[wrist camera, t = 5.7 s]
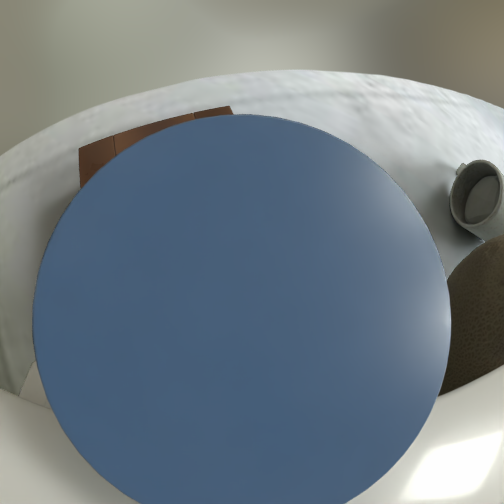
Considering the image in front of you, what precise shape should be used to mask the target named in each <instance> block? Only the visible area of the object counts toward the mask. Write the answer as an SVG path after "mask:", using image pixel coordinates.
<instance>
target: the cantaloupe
mask: <svg viewBox="0 0 504 504" xmlns="http://www.w3.org/2000/svg"><path fill="white" fill-rule="evenodd" d="M447 285H448V291H449V297H450V308H451V340H450V349H449V356H448V362H447V367H446V371H445V375H444V379H443V382H442V386H441V389H440V392H439V394H438V396H441V395H443V394H446V393H448V392H450V391H453V390H455V389H457V388H459V387H461V386H464V385H466V384H468V383H470V382H472V381H474V380H476V379H478V378H480V377H482V376H484V375H486V374H488V373H489V372H491V371H493V370H495V369H497V368H498V367H500V366H502V365H503V364H504V234H503V235H499V236H497V237H494V238H492V239H490V240H488V241H486V242H485V243H483V244H482V245H480V246H479V247H477V248H476V249H475V250H474V251H472V252H471V253H470V254H469V255H468V256H467V257H466V258H465V259H464V260H463V261H462V262H461V263H460V264H459V265H458V266H457V267H456V268H455V269H454V270H453V272H452V273H451V275H450V276H449V278H448V280H447Z"/></svg>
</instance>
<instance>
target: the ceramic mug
mask: <svg viewBox="0 0 504 504" xmlns="http://www.w3.org/2000/svg"><path fill="white" fill-rule="evenodd" d="M456 173H457V175H458V176H457V177H456V179H455V181H454V183H453V186H452V189H451V195H450V207H451V212H452V215H453V217H454V219H455V220H456V222H457V223H458V224H459V225H461V226H462V227H463V228H465V229H467V230H468V231H470V232H471V233H473V234H475V235H476V236H478V237H479V238H481V239H482V240H484V241H485V242H486V241H488V240H490V239H492V238H494V237H497V236H499V235H503V234H504V176H503V174H502V173H501V172H500V171H499V169H498V168H497V167H496V166H495V165H494V164H492V163H491V162H489V161H486V160H475V161H472V162H470V163H469V164H467V165H466V164H464V163H462V164H461V165H460V167H459V168H458V169H457V171H456Z"/></svg>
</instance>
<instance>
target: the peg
mask: <svg viewBox="0 0 504 504" xmlns="http://www.w3.org/2000/svg"><path fill="white" fill-rule="evenodd" d="M32 332H33V344H34V351H35V357H36V363H37V369H38V372H39V376H40V379H41V382H42V385H43V389H44V392H45V395H46V398H47V400H48V402H49V404H50V406H51V409H52V411H53V413H54V415H55V417H56V419H57V421H58V423H59V424H60V426H61V428H62V430H63V431H64V433H65V434H66V436H67V437H68V438H69V440H70V441H71V443H72V444H73V446H74V447H75V448H76V450H77V451H78V452H79V454H80V455H81V456H82V457H83V458H84V459H85V460H86V461H87V462H88V463H89V464H90V465H91V467H92V468H93V469H94V470H95V471H96V472H97V473H98V474H99V475H100V476H102V477H103V478H104V479H105V480H106V481H108V482H109V483H110V484H111V485H113V486H114V487H115V488H117V489H118V490H119V491H121V492H122V493H123V494H125V495H126V496H128V497H130V498H131V499H133V500H135V501H136V502H138V503H140V504H345V503H347V502H349V501H350V500H352V499H353V498H355V497H357V496H358V495H360V494H361V493H363V492H364V491H366V490H367V489H368V488H370V487H371V486H372V485H373V484H375V483H376V482H377V481H378V480H379V479H381V478H382V477H383V476H384V475H385V474H386V473H387V472H388V471H389V470H390V469H391V468H392V467H393V466H394V465H395V464H396V463H397V462H398V461H399V460H400V459H401V457H402V456H403V455H404V454H405V453H406V451H407V450H408V449H409V447H410V446H411V445H412V443H413V442H414V440H415V439H416V438H417V436H418V435H419V433H420V431H421V430H422V428H423V426H424V424H425V423H426V421H427V419H428V417H429V415H430V413H431V411H432V409H433V407H434V404H435V402H436V399H437V397H438V394H439V392H440V389H441V386H442V382H443V379H444V375H445V371H446V367H447V362H448V356H449V349H450V340H451V308H450V297H449V291H448V285H447V280H446V275H445V271H444V268H443V264H442V261H441V258H440V255H439V252H438V249H437V247H436V245H435V242H434V240H433V238H432V235H431V233H430V231H429V229H428V227H427V225H426V224H425V222H424V220H423V218H422V217H421V215H420V213H419V212H418V210H417V208H416V207H415V206H414V204H413V203H412V201H411V200H410V199H409V197H408V196H407V195H406V193H405V192H404V191H403V190H402V188H401V187H400V186H399V185H398V184H397V183H396V182H395V181H394V180H393V179H392V178H391V177H390V176H389V175H388V174H387V173H386V172H385V171H384V170H383V169H382V168H381V167H380V166H378V165H377V164H376V163H375V162H374V161H372V160H371V159H370V158H369V157H368V156H366V155H365V154H363V153H362V152H360V151H359V150H357V149H356V148H354V147H353V146H351V145H350V144H348V143H346V142H344V141H343V140H341V139H339V138H337V137H335V136H333V135H331V134H329V133H327V132H325V131H322V130H319V129H317V128H314V127H311V126H308V125H306V124H303V123H299V122H295V121H291V120H287V119H282V118H278V117H271V116H262V115H252V114H239V115H219V116H212V117H205V118H199V119H195V120H191V121H187V122H184V123H180V124H177V125H173V126H170V127H168V128H165V129H163V130H161V131H158V132H156V133H154V134H151V135H149V136H147V137H145V138H143V139H141V140H140V141H138V142H136V143H135V144H133V145H131V146H130V147H128V148H126V149H125V150H123V151H122V152H120V153H119V154H118V155H116V156H115V157H114V158H113V159H111V160H110V161H109V162H108V163H106V164H105V165H104V166H103V167H101V168H100V169H99V170H98V171H97V172H96V173H95V174H94V175H93V176H92V177H91V178H90V179H89V180H88V181H87V183H86V184H85V185H84V186H83V187H82V188H81V189H80V190H79V191H78V193H77V194H76V195H75V197H74V198H73V200H72V201H71V202H70V204H69V205H68V207H67V208H66V210H65V211H64V213H63V214H62V216H61V217H60V219H59V221H58V223H57V225H56V227H55V229H54V231H53V233H52V235H51V237H50V239H49V241H48V244H47V246H46V249H45V252H44V255H43V258H42V261H41V265H40V268H39V271H38V275H37V281H36V286H35V293H34V299H33V316H32Z"/></svg>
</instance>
